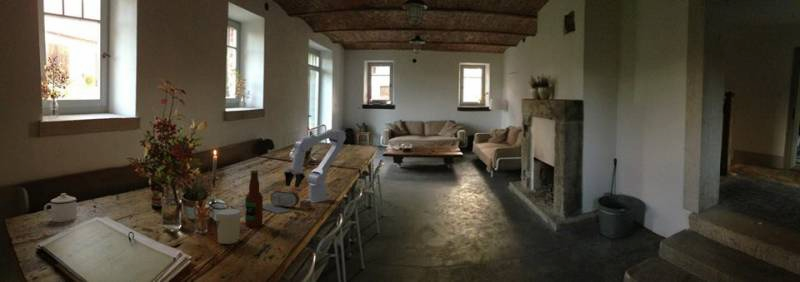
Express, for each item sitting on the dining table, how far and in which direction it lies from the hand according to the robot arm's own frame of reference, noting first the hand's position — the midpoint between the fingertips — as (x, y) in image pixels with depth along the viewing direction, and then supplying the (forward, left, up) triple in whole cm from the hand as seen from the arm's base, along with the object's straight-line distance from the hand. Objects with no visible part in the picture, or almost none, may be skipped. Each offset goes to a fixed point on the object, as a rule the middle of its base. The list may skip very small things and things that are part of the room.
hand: (292, 186), depth 226 cm
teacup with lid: (+90, -45, -11) cm, 101 cm away
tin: (+5, 0, -10) cm, 11 cm away
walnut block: (-2, +9, -10) cm, 14 cm away
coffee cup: (+51, +28, -11) cm, 59 cm away
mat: (+11, 0, -10) cm, 15 cm away
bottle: (+33, +17, -11) cm, 38 cm away
